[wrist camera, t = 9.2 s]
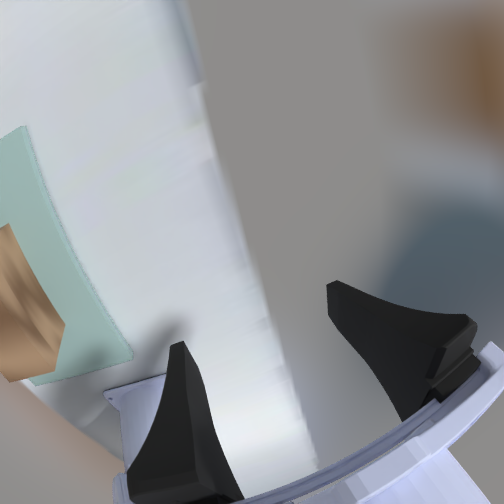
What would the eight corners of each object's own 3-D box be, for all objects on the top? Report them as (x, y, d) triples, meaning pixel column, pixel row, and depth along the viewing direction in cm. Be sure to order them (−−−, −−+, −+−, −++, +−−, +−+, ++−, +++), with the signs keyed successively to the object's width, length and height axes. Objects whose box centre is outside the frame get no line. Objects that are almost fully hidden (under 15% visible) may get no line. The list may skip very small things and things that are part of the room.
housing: (65, 324, 19) (54, 371, 14) (24, 338, 18) (9, 382, 13) (8, 222, 14) (-24, 255, 10) (-32, 247, 13) (-64, 282, 9)
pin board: (132, 351, 23) (134, 381, 20) (37, 378, 21) (31, 405, 18) (26, 125, 13) (2, 129, 10) (-71, 200, 11) (-94, 215, 8)
